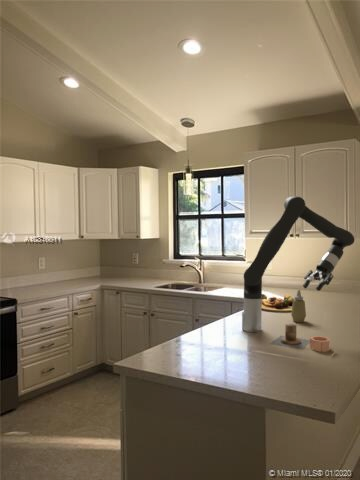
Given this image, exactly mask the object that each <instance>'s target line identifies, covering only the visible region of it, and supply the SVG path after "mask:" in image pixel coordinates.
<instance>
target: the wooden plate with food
mask: <svg viewBox="0 0 360 480" xmlns="http://www.w3.org/2000/svg"><path fill="white" fill-rule="evenodd" d="M293 300H295V297H292V296H291V295H290V294H289V293H286V294H285V295H284V297H283V298H280V297H279V298H277V297H275V296H270V297H269V298H268V297H267V295H265V294H264V293H262V311H263V312H270V313H281V314H282V313H292V304H293Z"/></svg>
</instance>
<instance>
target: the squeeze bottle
mask: <svg viewBox="0 0 360 480" xmlns="http://www.w3.org/2000/svg"><path fill="white" fill-rule="evenodd" d="M294 299H295V300H293V304H292V312H290V313H291V318H292V320H293V322H295V323H304V321H305V319H306V317H307V311H306V310H307V309H306V301H305V300H304V296H303V295H302V293H301V289H297V293H296V295H294Z"/></svg>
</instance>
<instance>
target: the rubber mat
mask: <svg viewBox="0 0 360 480" xmlns="http://www.w3.org/2000/svg"><path fill="white" fill-rule="evenodd" d="M282 337H285V335H279V336H278V337H277V338H275V339H274V340H273V341H271V342H270V343H269V345H275V346H280V347H286V348H293V349H298V350H303V349H304V348H305V347H307V345H308V344H310V339H306V338H299V337H298V338H299V339H300V340H301V343H300V344H298V345H288V344H284V343H282V342H281V338H282Z"/></svg>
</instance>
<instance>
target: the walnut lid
mask: <svg viewBox="0 0 360 480" xmlns="http://www.w3.org/2000/svg"><path fill="white" fill-rule="evenodd" d="M284 326H285V330H284V332H285V333H284V334H285V335H284V336H285V337H282V338H281V342H282V343H284V344H288V345H298V344H300V343H301V340H300V339H301V338H300V339H299V337H297V324H294V323H285V325H284Z"/></svg>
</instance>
